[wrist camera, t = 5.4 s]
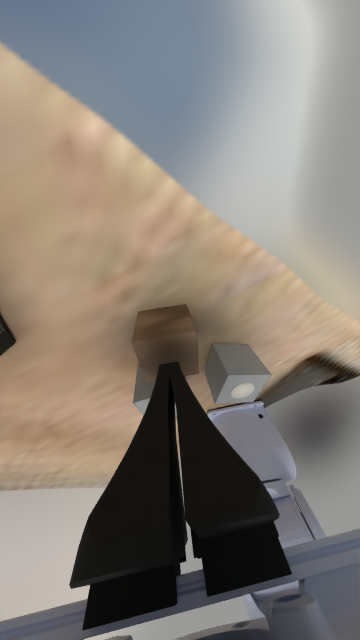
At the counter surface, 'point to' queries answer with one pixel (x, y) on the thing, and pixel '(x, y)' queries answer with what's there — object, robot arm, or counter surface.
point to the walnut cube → (165, 340)
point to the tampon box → (5, 339)
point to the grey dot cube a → (143, 392)
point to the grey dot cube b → (235, 373)
